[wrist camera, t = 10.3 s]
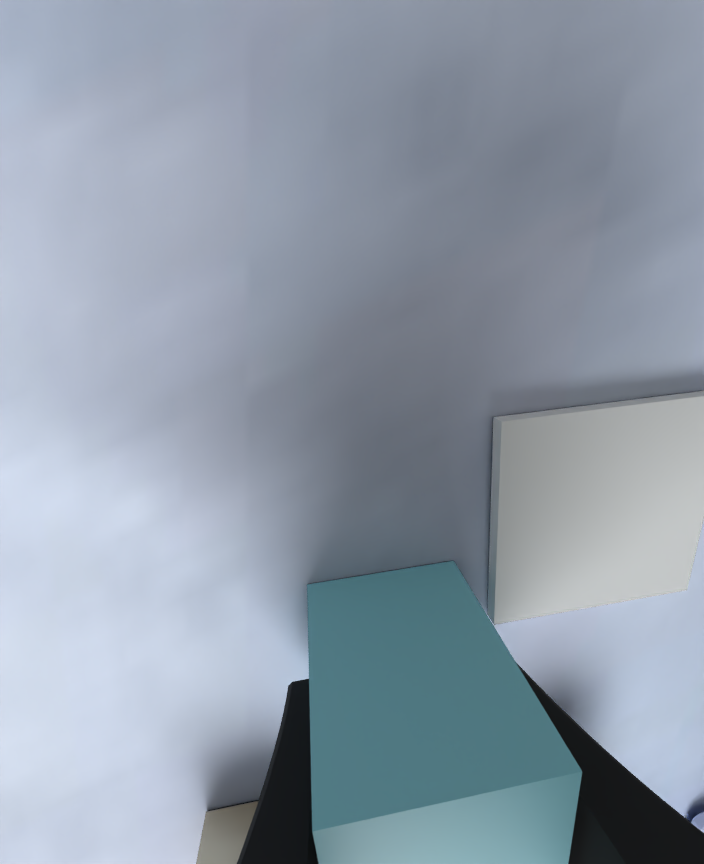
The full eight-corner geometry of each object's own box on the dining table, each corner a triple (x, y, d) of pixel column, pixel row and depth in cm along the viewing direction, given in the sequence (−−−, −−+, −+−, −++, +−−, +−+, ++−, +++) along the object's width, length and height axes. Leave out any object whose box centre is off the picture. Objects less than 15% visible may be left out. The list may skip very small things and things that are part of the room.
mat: (716, 389, 10) (733, 392, 9) (674, 581, 12) (686, 590, 11) (493, 417, 9) (501, 421, 9) (487, 614, 11) (493, 624, 11)
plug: (453, 561, 10) (582, 772, 6) (455, 796, 13) (538, 1059, 9) (307, 584, 10) (312, 831, 5) (343, 821, 13) (367, 1109, 8)
